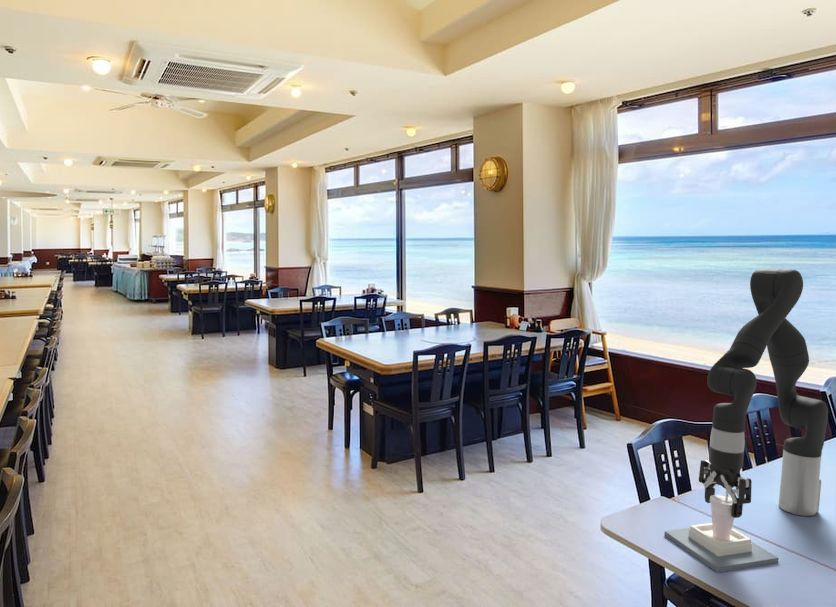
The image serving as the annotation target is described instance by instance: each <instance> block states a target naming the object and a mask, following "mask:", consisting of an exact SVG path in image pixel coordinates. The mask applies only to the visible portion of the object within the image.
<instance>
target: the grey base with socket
mask: <svg viewBox="0 0 836 607" xmlns="http://www.w3.org/2000/svg"><path fill="white" fill-rule="evenodd" d="M664 537H665V538H667V539H669V540H670V541H672V542H673V543H675V544H676V545H677V546H679V547H680V548H682V549H683V550H685V551H686V552H687V553H689V554H690V555H691V556H693V557H694V558H695V559H697V560H699V561H700V562H702V563H703V564H704V565H705V566H707V567H709V568H710V569H711V570H713V571H714V572H716V573H721V572H727V571H735V570H741V569H746V568H753V567H759V566H765V565H772V564H777V563H779V557H778V556H776V555H775V554H773V553H771V552H769V551H768V550H767V549H765V548H763V547H761V546H760V545H758V544H756V543H755V542H753V541H752V539H751V538H750V537H748V536H746V535H745V534H743V533H741V532H739V531H738V530H736V529H735V528H733V527H732V530H731V534H730V539H729V540H720V539H717V538H715V537H714V536H713V528H712V522H708V523H700V524H694V525H690V526H689V527H686V528H685V527H684V528H678V529H669V530H664Z"/></svg>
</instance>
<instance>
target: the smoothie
mask: <svg viewBox="0 0 836 607" xmlns="http://www.w3.org/2000/svg"><path fill="white" fill-rule="evenodd" d="M709 501H710V502H711V503H710V508H711V523H712V528H713V536H714V537H715V538H717V539H720V540H729V539H730V534H731V530H732V528H733V525H734V522H735V521H734V520H735V518H734V517H732V516H731V512H732V502H733V500H732V498H731V496H729V494H728V492H727V490H726V489H725V494H716V493H715V495H711V496H710V500H709Z"/></svg>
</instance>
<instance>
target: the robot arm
mask: <svg viewBox="0 0 836 607" xmlns="http://www.w3.org/2000/svg"><path fill="white" fill-rule="evenodd" d="M749 286H750V294H751V298H752V301H753V303H754V307H755V309H756V312H757V315H756V317H753V319H751V320H749V321H748V322H746V323H745V324H744V325H743V326H742V327H741V328H740V330H738V332H737V334H736V336H735V338H734V340H733V342H732V344H731V346H730V347H729V349H728V350H727V351H726V352H725V353H724V354H723V355H722V356H721V357H720V358H719V359H718V360H717V361H716V362H715V363H714V364H713V365H712V366H711V368H710V369H709V371H708V373H707V376H706V377H707V380H706V382H707V386H708V388H709V389H710V390H711V391H712V392H714V393H718V394H721V395H726V396H731V397H734V399H733V401H732V402H720V403H717V404H715V405H714V406H713V411H712V424H711V426H712V427H711V432H710V440H709V449H708V450H709V451H708V452H709V453H708V459H704V460H701V461H700V465H699V474H698V482H699V483H702V484H703V486H704V502H705V503H707V504H711V502H710V501H709V500H710V496H711V495H716V488H715V486H721V487H722V488H724V489H725V491H726V490H727V492H728V495H730V497H731V498H732V500H733V502H732V512H731V516H732V517H734V519H737V518H741V517H742V515H743V510H744V508H743V507H744V505H746V504H751V502H752V479H751V478H749V477H747V478H746V477H743V476H742V475H741V470H742V468H744V457H745V456H744V455H745V446H746V445H745V444H746V443H745V442H746V441H745V440H746V437H745V429H746V428H745V427H746V417H747V412H748V409H749V406H750V403H751V401H752V398H753V395H754V394H755V391H756V388H757V385H758V384H757V383H758V382H757V381H758V380H757V377H756V375H755V373H754V372H753V371H752V370H750V369H749V368H754V367H756V366H757V365H758V364H759V363H760V360H761V358H762V357H763V354H764V352H765V351H766V349H767V353H768V356H769V361H770V364H771V369H772V371H773V376H774V381H775V388H776V395H777V403H778V411H779V416H780V419H781V422H783V423H784V425H787V426H790V427H792V428H797V429H800V430H805V434H804V436H801V437H799V436H798V437H789V438H786V439H784V441H783V450H782V461H781V462H782V465H781V474H780V485H779V494H778V495H779V496H778V507H779V508H780V509H781V510H783V511H784V512H788V513H790V514H793V515H796V516H802V517H812V516H816V514H817V513H819V511H820V500H821V499H820V498H821V490H822V480H821V478H820V476H821V464H822V463H821V462H822V456H823V455H822V454H823V449H824V445H825V439H826V431H827V424H828V421H829V420H828V418H829V408H828V405H827V403H826V402H825V401H824V400H821V399H816V398H812V397H807V396H803V395H799V394H798V392H797V386H796V384H797V383H798V381H799V379H800V378H801V376H802V375H803V374H804V373H805V371H806V370H807V369H808V366H809V363H810V356H809V351H808V350H809V349H808V347H807V346H808V345H807V343H806V339H805V338H804V335H803V334H802V333H801V332H800V331H799V330H798V328H796V326H794V325H793V324H792V323H791V321H790V320H788V319H787V317H788V315H789V314H790V312H791V311H792V310H793V308H794V307H795V306H796V305H797V303H798V301H799V299H800V298H801V296H802V293H803V289H804V279H803V275H802V274H801V273H800V271H798V270H796V269H791V268H759V269H756V270H755V271H754V272H753V273H752V274H751V276H750V280H749ZM733 488H735V489H733Z"/></svg>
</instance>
